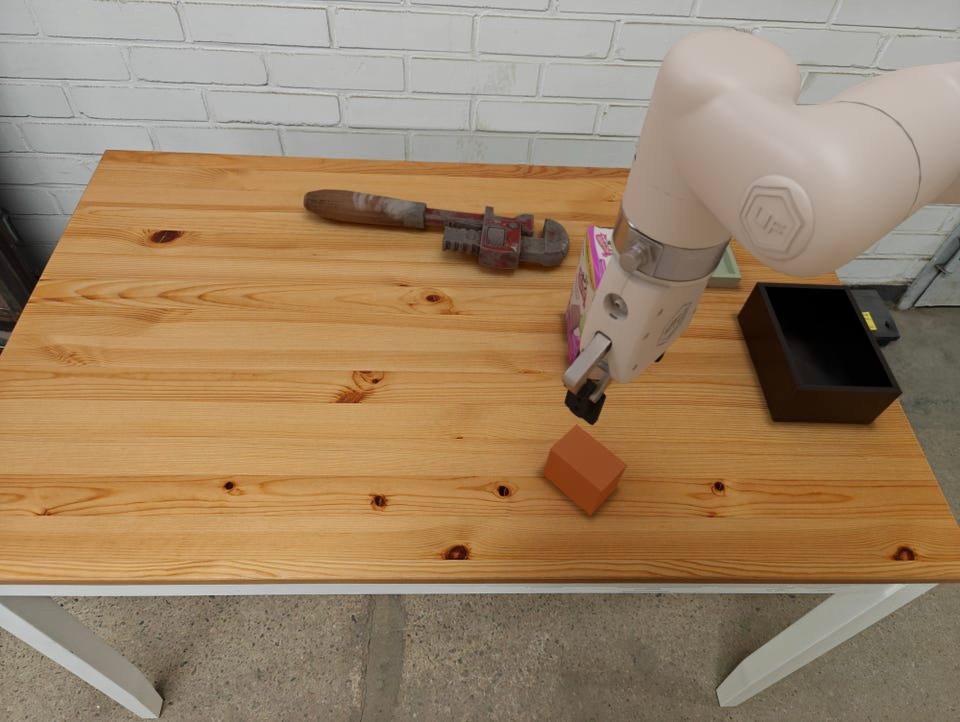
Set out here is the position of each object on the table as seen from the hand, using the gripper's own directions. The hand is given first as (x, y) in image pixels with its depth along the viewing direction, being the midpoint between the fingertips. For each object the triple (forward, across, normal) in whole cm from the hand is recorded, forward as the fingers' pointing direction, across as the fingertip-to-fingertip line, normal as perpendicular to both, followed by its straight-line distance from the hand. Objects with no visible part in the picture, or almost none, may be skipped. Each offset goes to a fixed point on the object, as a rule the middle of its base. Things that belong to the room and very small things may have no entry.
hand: (614, 381), depth 56 cm
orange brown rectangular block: (+20, 0, 0) cm, 20 cm away
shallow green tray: (+20, +44, +14) cm, 50 cm away
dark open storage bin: (+20, +35, -10) cm, 42 cm away
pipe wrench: (+20, +16, +40) cm, 48 cm away
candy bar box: (+20, +16, +12) cm, 28 cm away
